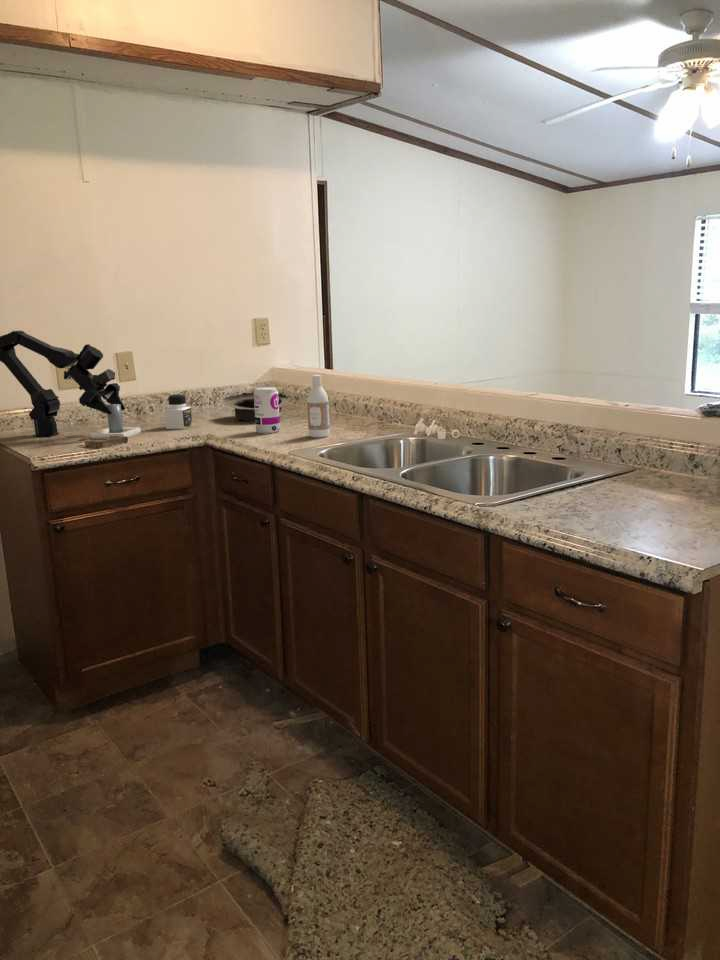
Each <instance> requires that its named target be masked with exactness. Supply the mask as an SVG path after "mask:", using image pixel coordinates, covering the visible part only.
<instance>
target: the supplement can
mask: <svg viewBox="0 0 720 960" xmlns="http://www.w3.org/2000/svg"><path fill="white" fill-rule="evenodd" d="M253 392H254V405H255V421H254V422H255V431H256V432H257V433H258V434H262V433H264V434H265V435H266V434H267V435H269V434H268V433H270V434H275V433H276V434H277V433H279V431H280V430H281V424H280V423H281V422H280V413H279V399H278V393H279V391H278V389H277V387H273V386H265V387H264V386H262V387H261V386H260V387H256V388H255V389H254V391H253Z"/></svg>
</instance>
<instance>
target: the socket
mask: <svg viewBox="0 0 720 960" xmlns="http://www.w3.org/2000/svg"><path fill="white" fill-rule="evenodd" d="M127 442H128V443H129V438H128V437H126V436H119V435H110V439H102V440H97V439H84V447H87V446H89V447H88V448H93V447H96V449H103V448H102V447H104V448H108V446H109V447H113V446H112V445H114V446H118V445H117V444H119V445H123V444H122V443H124V444H128V443H127Z"/></svg>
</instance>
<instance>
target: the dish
mask: <svg viewBox="0 0 720 960" xmlns="http://www.w3.org/2000/svg"><path fill="white" fill-rule="evenodd" d="M123 431H125V432H123V433H108V432H109V427H105V428H103V429H100V430H97V431H94V432H91V433H90V436H91V439H90V440H108V439H110V435H119V436H126V437H128V439H130V438H132V437H135V436H137V435H140V434H142V432H141V431H142V430H141V427H123ZM129 437H130V438H129Z"/></svg>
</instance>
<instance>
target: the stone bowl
mask: <svg viewBox="0 0 720 960" xmlns="http://www.w3.org/2000/svg"><path fill="white" fill-rule="evenodd" d="M254 392H255V391H253V392H242V393H241V394H235V395H230V396H226V397H225V398H223V402H224V405H225V406H227V407H230V408H232V409H234V415H235V418H236V420H237V419H238V421H246V422H248V421H250V422H249V423H253V421H254V422H255V405H254ZM278 399H279V414H280V412H282V407H285V406H286V405H289V404H290V400H289V399H288V396H287V395H285V394H283V393H281V392H278Z"/></svg>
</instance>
